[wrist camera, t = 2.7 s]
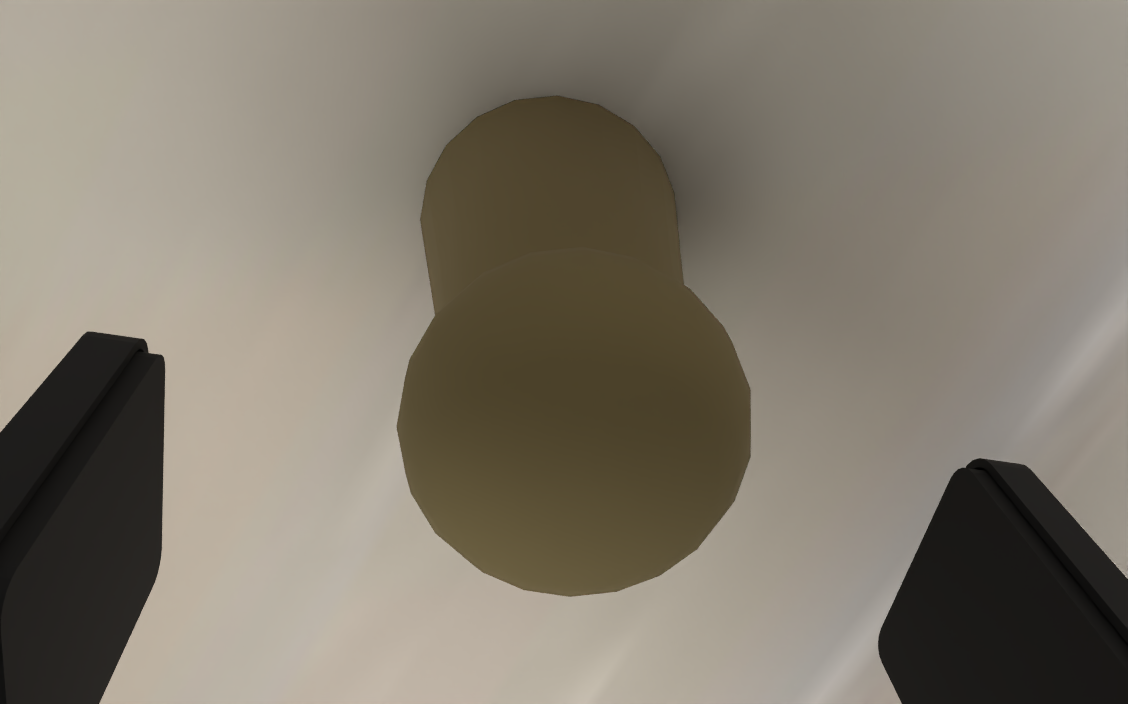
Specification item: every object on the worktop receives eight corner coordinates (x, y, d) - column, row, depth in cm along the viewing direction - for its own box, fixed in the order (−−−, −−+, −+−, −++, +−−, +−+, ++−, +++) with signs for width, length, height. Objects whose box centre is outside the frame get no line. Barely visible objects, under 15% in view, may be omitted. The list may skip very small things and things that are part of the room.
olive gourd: (420, 88, 21) (345, 265, 11) (691, 103, 21) (850, 287, 12) (420, 336, 24) (358, 660, 14) (661, 346, 24) (770, 665, 14)
